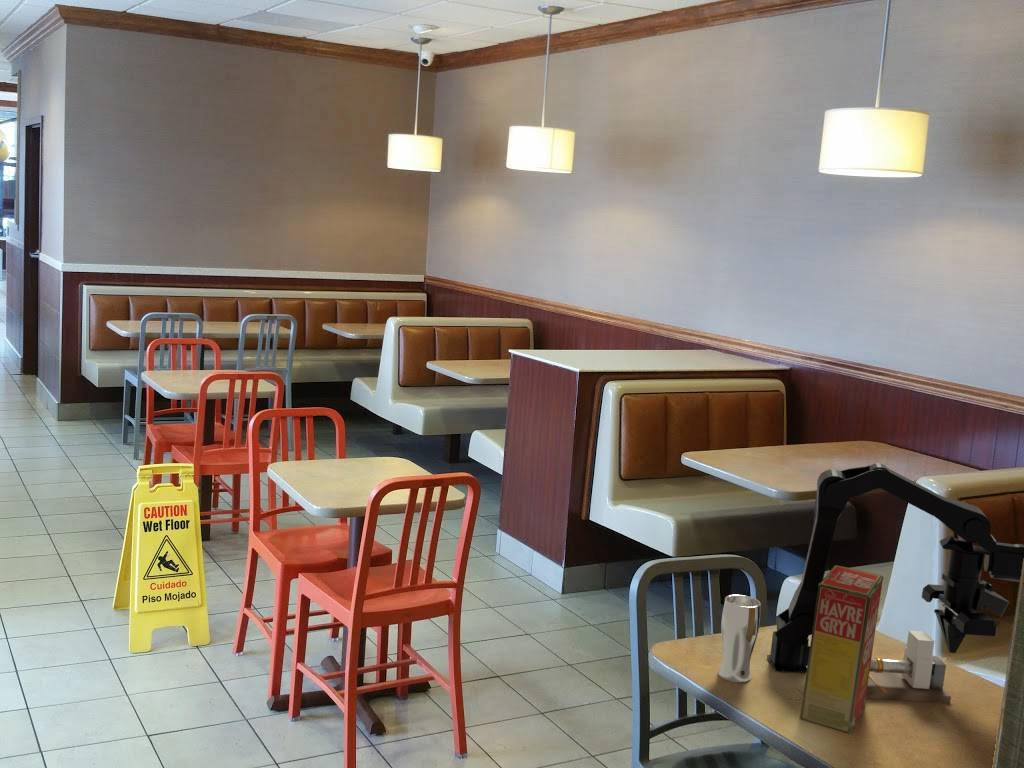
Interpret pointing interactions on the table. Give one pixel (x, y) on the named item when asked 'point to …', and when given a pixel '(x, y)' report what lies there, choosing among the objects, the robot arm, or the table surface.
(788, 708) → the table surface
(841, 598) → the food packaging
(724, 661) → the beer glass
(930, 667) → the collar
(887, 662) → the grey metal peg
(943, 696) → the base board
